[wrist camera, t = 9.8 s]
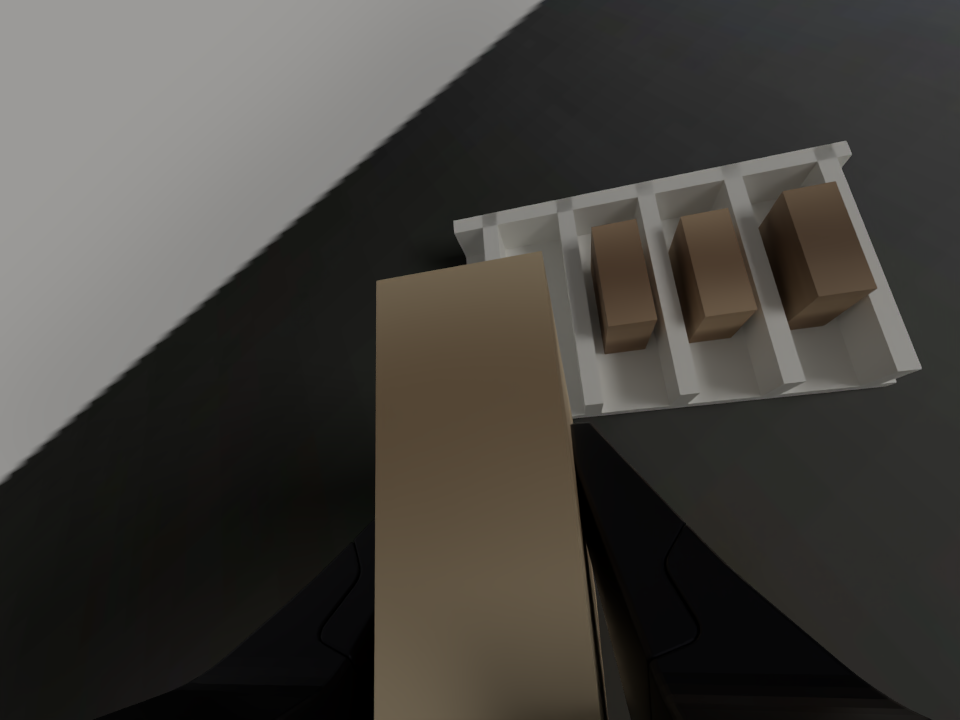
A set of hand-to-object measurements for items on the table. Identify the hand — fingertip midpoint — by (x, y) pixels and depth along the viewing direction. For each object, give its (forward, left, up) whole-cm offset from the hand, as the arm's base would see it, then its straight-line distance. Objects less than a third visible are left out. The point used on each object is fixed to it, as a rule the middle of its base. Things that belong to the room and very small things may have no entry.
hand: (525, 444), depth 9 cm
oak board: (-1, -1, -7) cm, 7 cm away
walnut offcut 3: (+13, -6, -13) cm, 19 cm away
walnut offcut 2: (+11, -3, -13) cm, 17 cm away
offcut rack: (+10, -1, -13) cm, 17 cm away
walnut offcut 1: (+9, +1, -13) cm, 16 cm away
